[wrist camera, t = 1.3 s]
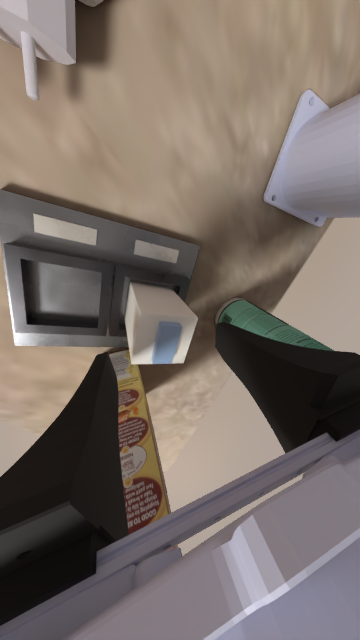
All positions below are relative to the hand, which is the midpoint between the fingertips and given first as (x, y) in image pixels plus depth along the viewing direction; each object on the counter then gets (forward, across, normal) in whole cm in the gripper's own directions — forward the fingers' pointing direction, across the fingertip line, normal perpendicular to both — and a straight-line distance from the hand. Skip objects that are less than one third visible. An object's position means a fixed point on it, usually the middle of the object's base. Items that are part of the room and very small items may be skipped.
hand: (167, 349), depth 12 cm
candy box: (+9, +4, +10) cm, 14 cm away
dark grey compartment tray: (+9, +3, -2) cm, 9 cm away
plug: (+8, 0, 0) cm, 8 cm away
